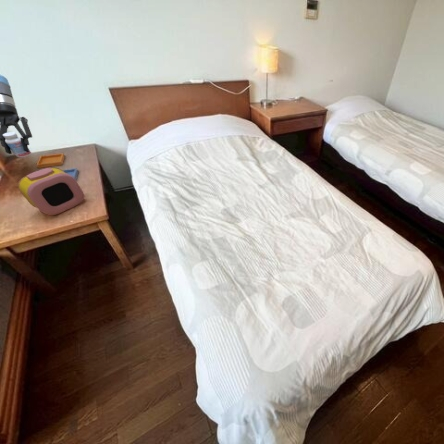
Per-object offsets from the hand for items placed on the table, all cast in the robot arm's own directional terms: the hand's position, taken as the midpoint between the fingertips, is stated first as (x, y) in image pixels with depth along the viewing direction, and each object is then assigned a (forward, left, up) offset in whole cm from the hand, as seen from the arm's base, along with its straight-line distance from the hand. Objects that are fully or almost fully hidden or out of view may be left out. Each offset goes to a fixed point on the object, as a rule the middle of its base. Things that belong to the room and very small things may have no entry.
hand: (17, 152), depth 123 cm
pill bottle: (0, +4, -4) cm, 5 cm away
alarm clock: (+14, -27, -18) cm, 35 cm away
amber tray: (+2, +23, -18) cm, 30 cm away
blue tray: (+11, +1, -18) cm, 21 cm away
